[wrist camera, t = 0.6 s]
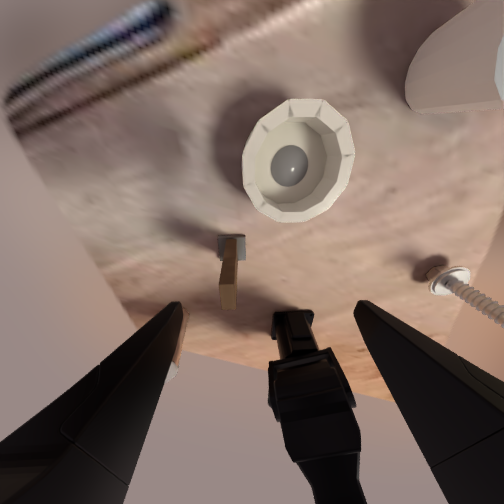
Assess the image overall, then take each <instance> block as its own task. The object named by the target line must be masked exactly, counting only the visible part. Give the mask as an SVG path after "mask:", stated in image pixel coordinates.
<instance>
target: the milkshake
mask: <svg viewBox="0 0 504 504" xmlns="http://www.w3.org/2000/svg"><path fill="white" fill-rule="evenodd" d="M182 309H183V321H182V325H181V330H180V334H179V338H178V343H177V347H176V350H175V354H174V357H173V359H172V362H171V365H170V368H169V371H168V374H167V377H166V380H165V383H167V382H168V381H170V380H171V379H172V378H174V377H175V376H176V375H177V373H178V367H179V361H180V357H181V351H182V346H183V341H184V337H185V332H186V328H187V323H188V319H189V313H188V311H187V310H186V309H184V308H182Z"/></svg>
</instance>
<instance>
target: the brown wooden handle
mask: <svg viewBox="0 0 504 504" xmlns="http://www.w3.org/2000/svg"><path fill="white" fill-rule="evenodd" d="M218 246H219V255H220V261H223V262H222V268H221V274H220V280H219V291H220V299H221V307H222V310H231V309H236V293H237V265H238V260H246V249H245V235H227V236H218Z"/></svg>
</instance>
